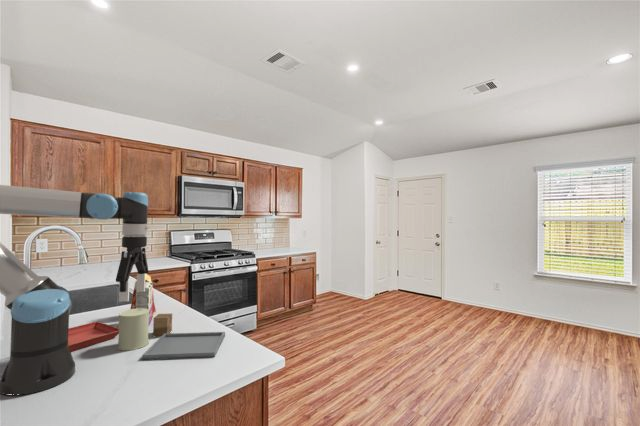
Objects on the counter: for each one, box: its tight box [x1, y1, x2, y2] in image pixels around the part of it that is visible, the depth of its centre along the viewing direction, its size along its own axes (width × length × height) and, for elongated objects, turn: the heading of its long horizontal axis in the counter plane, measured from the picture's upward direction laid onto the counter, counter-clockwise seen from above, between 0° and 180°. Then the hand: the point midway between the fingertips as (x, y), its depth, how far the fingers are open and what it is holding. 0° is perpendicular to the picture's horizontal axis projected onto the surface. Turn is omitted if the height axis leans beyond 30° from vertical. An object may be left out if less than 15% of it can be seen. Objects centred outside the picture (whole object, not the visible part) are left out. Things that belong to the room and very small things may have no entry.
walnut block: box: [152, 313, 173, 337], centre depth 117 cm, size 5×5×7 cm
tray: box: [141, 331, 226, 361], centre depth 106 cm, size 18×22×2 cm
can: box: [117, 308, 150, 352], centre depth 106 cm, size 9×9×12 cm
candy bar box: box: [136, 281, 153, 328], centre depth 128 cm, size 11×5×16 cm, turn 22°
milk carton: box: [129, 273, 157, 318], centre depth 138 cm, size 9×9×20 cm
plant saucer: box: [68, 321, 119, 353], centre depth 110 cm, size 18×18×3 cm
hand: (132, 296), depth 107 cm, fingers open, 13 cm apart
